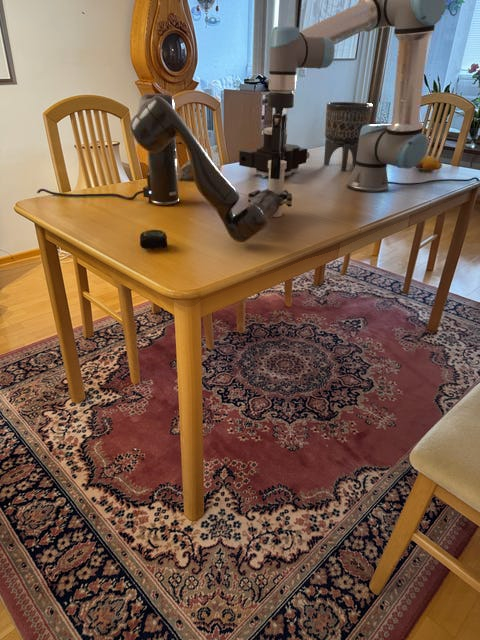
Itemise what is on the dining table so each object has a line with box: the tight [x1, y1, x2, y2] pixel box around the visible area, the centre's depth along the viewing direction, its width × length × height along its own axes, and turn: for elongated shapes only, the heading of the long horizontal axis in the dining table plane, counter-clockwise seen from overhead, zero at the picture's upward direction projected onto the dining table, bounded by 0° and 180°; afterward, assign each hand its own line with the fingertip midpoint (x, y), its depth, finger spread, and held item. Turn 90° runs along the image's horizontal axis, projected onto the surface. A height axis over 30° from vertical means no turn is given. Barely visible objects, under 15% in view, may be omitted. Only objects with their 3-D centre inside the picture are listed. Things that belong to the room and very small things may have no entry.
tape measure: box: [139, 229, 168, 250], centre depth 117 cm, size 7×7×4 cm
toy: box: [414, 156, 443, 172], centre depth 207 cm, size 11×6×15 cm
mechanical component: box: [238, 126, 311, 178], centre depth 191 cm, size 22×21×30 cm
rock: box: [177, 159, 194, 182], centre depth 183 cm, size 13×9×6 cm, turn 131°
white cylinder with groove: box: [268, 160, 287, 170], centre depth 137 cm, size 6×6×2 cm
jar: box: [267, 169, 285, 218], centre depth 141 cm, size 5×5×16 cm
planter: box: [323, 101, 374, 172], centre depth 204 cm, size 20×20×26 cm
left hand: (277, 192), depth 144 cm, fingers closed on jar, 5 cm apart
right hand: (276, 176), depth 139 cm, fingers closed on white cylinder with groove, 5 cm apart
